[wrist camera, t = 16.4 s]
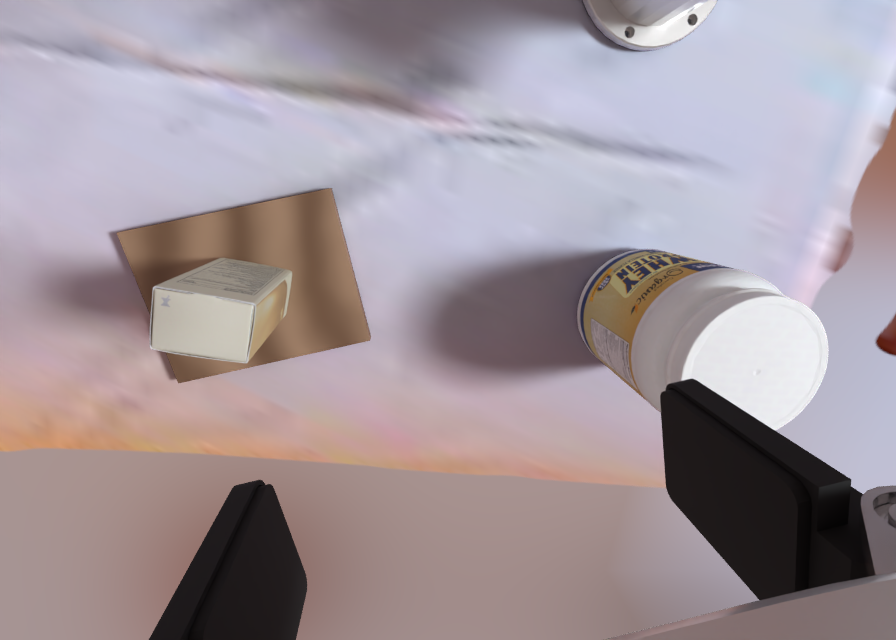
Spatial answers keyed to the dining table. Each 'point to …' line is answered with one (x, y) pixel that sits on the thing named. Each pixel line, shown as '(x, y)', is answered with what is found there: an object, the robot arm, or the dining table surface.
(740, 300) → the supplement tub
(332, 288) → the walnut board
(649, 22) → the robot arm
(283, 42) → the dining table surface
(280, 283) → the skincare box
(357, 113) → the dining table surface
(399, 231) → the dining table surface
